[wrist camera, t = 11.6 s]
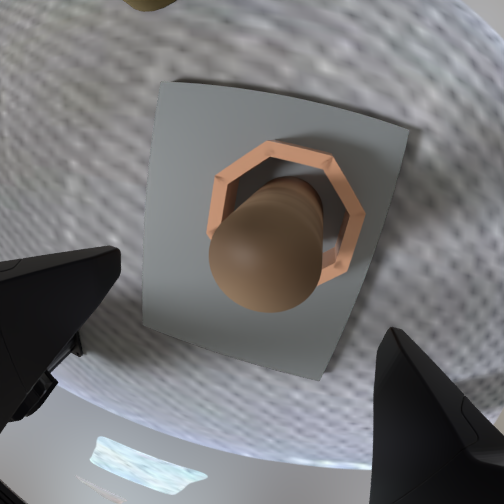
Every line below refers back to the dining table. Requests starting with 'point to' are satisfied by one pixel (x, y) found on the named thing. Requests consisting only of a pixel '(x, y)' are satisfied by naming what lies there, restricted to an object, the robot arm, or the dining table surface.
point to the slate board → (199, 199)
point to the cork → (148, 4)
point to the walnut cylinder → (271, 247)
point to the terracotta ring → (228, 178)
